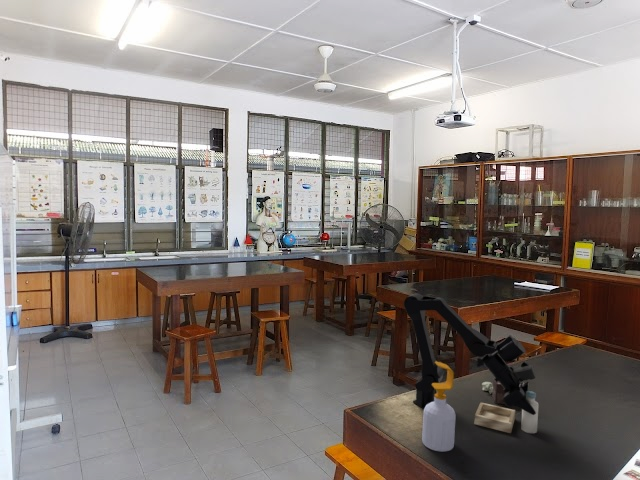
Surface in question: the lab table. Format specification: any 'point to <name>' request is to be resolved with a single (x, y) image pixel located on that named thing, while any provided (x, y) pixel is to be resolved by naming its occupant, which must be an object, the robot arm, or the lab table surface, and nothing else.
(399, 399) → the lab table surface
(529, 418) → the reagent bottle
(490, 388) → the vertebra
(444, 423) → the soap bottle
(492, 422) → the oak tray
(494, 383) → the box
